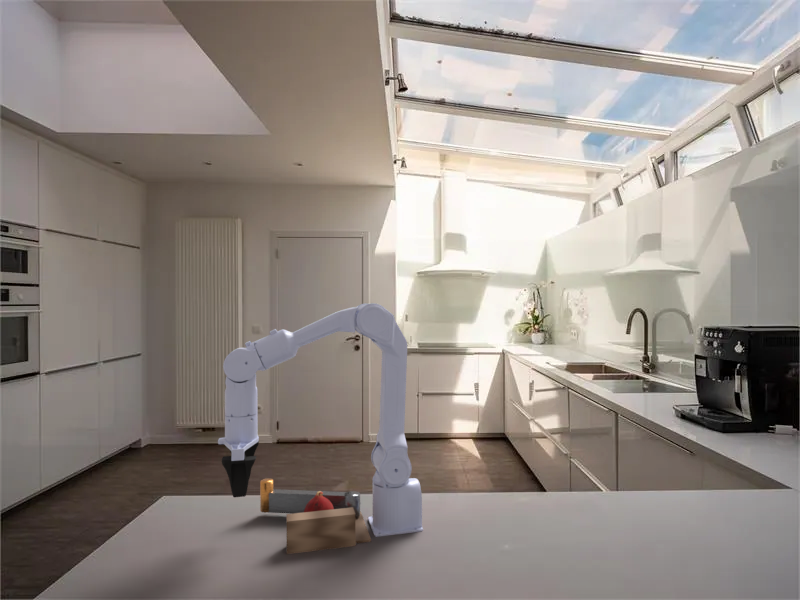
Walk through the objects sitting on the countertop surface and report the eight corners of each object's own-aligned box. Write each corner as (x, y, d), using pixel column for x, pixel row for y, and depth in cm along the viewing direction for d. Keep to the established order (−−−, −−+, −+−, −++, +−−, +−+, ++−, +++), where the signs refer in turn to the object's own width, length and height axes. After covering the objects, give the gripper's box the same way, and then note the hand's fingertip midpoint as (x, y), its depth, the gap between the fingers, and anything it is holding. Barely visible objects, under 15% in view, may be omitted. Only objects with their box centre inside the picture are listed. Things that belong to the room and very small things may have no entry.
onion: (328, 543, 87) (327, 499, 87) (298, 540, 88) (298, 496, 88) (338, 528, 93) (338, 487, 93) (310, 526, 94) (310, 485, 94)
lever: (361, 511, 98) (361, 481, 98) (358, 517, 95) (358, 487, 95) (263, 506, 101) (263, 477, 101) (257, 513, 97) (257, 483, 97)
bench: (360, 514, 99) (360, 485, 99) (372, 545, 86) (371, 512, 86) (286, 522, 96) (286, 492, 96) (286, 556, 83) (286, 521, 83)
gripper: (223, 406, 94) (223, 476, 94) (212, 424, 80) (212, 506, 79) (260, 404, 95) (260, 473, 95) (256, 422, 81) (256, 502, 81)
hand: (241, 488), depth 87 cm, fingers open, 7 cm apart
